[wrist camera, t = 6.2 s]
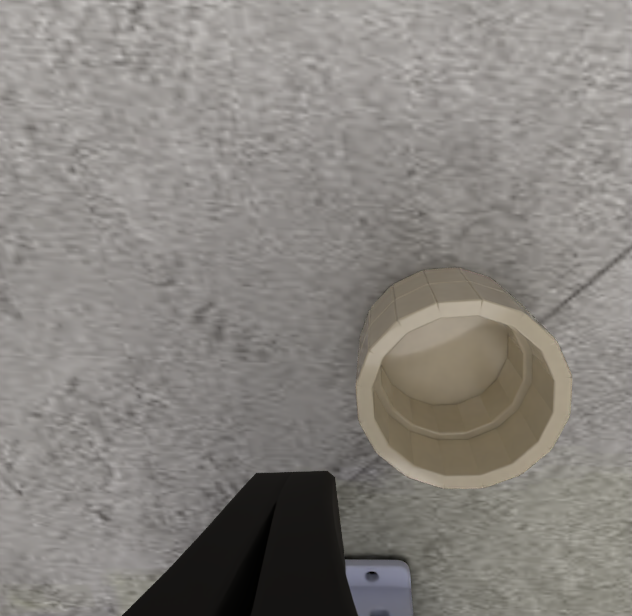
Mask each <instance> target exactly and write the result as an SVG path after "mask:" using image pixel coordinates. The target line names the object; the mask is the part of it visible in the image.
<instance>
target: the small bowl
mask: <svg viewBox="0 0 632 616" xmlns="http://www.w3.org/2000/svg"><path fill="white" fill-rule="evenodd" d="M355 388H356V400H357V411H358V420H359V424H360V425H361V427H362V429H363V431H364V432H365V434H366V436H367V438H368V440H369V441H370V443H371V445H372V447H373V448H374V450H375V452H376V453H377V454H378V455H379V456H380V457H381V458H383V459H384V460H385V461H387V462H388V463H389V464H390V465H392V466H393V467H394V468H395V469H397V470H398V471H399V472H400V473H402V474H403V475H404V476H407V477H408V478H411V479H414V480H417V481H420V482H423V483H426V484H429V485H432V486H435V487H439V488H444V489H476V488H486V487H489V486H492V485H494V484H497V483H500V482H503V481H506V480H509V479H511V478H514V477H517V476H520V475H521V474H523V473H524V472H525V471H527V470H528V469H529V468H530V467H531V466H533V465H534V464H535V463H536V462H538V461H539V460H540V459H541V458H542V457H544V456H545V455H546V454H547V453H548V452H550V451H551V449H552V448H553V447H554V445H555V443H556V441H557V439H558V438H559V436H560V434H561V432H562V430H563V428H564V426H565V424H566V423H567V421H568V419H569V417H570V413H571V394H572V374H571V372H570V369H569V367H568V365H567V362H566V360H565V358H564V356H563V353H562V351H561V349H560V346H559V344H558V342H557V341H556V340H555V338H554V337H553V336H552V335H551V334H550V333H549V332H548V331H547V330H546V329H545V328H544V327H543V326H542V325H541V324H540V323H539V322H538V321H537V320H536V319H535V318H534V317H533V316H532V315H531V314H530V313H529V312H528V311H527V310H526V309H525V308H524V307H523V306H522V305H521V304H520V303H519V302H518V301H517V300H516V299H515V298H514V297H513V296H512V295H511V294H510V293H508V292H507V291H506V290H505V289H504V288H503V287H501V286H500V285H499V284H498V283H497V282H496V281H495V280H493V279H491V278H490V277H487V276H484V275H481V274H478V273H475V272H472V271H468V270H465V269H462V268H457V267H453V268H440V269H426V270H423V271H420V272H418V273H416V274H413V275H411V276H409V277H407V278H405V279H403V280H401V281H399V282H397V283H395V284H393V286H391V287H389V288H388V289H387V291H386V292H385V293H384V294H383V295H382V296H381V297H380V298H379V299H378V300H377V301H376V303H375V304H374V305H373V306H372V307H371V309H370V311H369V312H368V314H367V317H366V320H365V323H364V326H363V329H362V332H361V334H360V340H359V350H358V361H357V374H356V387H355Z"/></svg>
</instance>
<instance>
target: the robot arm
mask: <svg viewBox="0 0 632 616" xmlns="http://www.w3.org/2000/svg"><path fill="white" fill-rule="evenodd" d="M371 571H373V572H376V573H375V574H370V573H368V572H371ZM122 616H414V615H413V604H412V592H411V577H410V569H409V566H408V565H407V564H406V563H405V562H403V561H401V560H348V559H345V557H344V548H343V540H342V532H341V524H340V516H339V507H338V499H337V491H336V483H335V477H334V476H333V475H332V474H330V473H329V472H328V471H311V472H280V473H256V474H255V475H254V476H253V477H252V478H251V479H250V480H249V481H248V482H247V484H246V485H245V486H244V487H243V488H242V489H241V490H240V491H239V492H238V493H237V495H236V496H235V497H234V498H233V499H232V500H231V501H230V502H229V504H228V505H227V506H226V507H225V508H224V509H223V510H222V512H221V513H220V514H219V515H218V516H217V517H216V518H215V519H214V520H213V522H212V523H211V524H210V525H209V526H208V527H207V528H206V529H205V531H204V532H203V533H202V534H201V535H200V536H199V537H198V538H197V539H196V540H195V541H194V542H193V544H192V545H191V546H190V547H189V548H188V549H187V550H186V551H185V552H184V553H183V554H182V555H181V556H180V558H179V559H178V560H177V561H176V562H175V563H174V564H173V565H172V566H171V567H170V568H169V569H168V570H167V571H166V572H165V573H164V574H163V575H162V576H161V577H160V578H159V579H158V580H157V581H156V582H155V583H154V584H153V585H152V586H151V587H150V588H149V589H148V590H147V591H146V592H145V593H144V594H143V595H142V596H141V597H140V598H139V599H138V600H137V601H136V602H135V603H134V604H133V605H132V606H131V607H130V608H129V609H128V610H127V611H126V612H125V613H124V614H123V615H122Z"/></svg>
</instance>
